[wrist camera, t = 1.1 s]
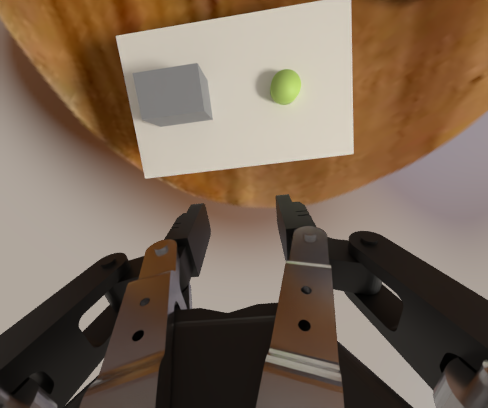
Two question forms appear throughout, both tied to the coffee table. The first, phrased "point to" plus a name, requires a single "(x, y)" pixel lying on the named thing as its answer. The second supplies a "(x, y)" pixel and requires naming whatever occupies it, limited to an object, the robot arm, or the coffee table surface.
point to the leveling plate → (242, 89)
